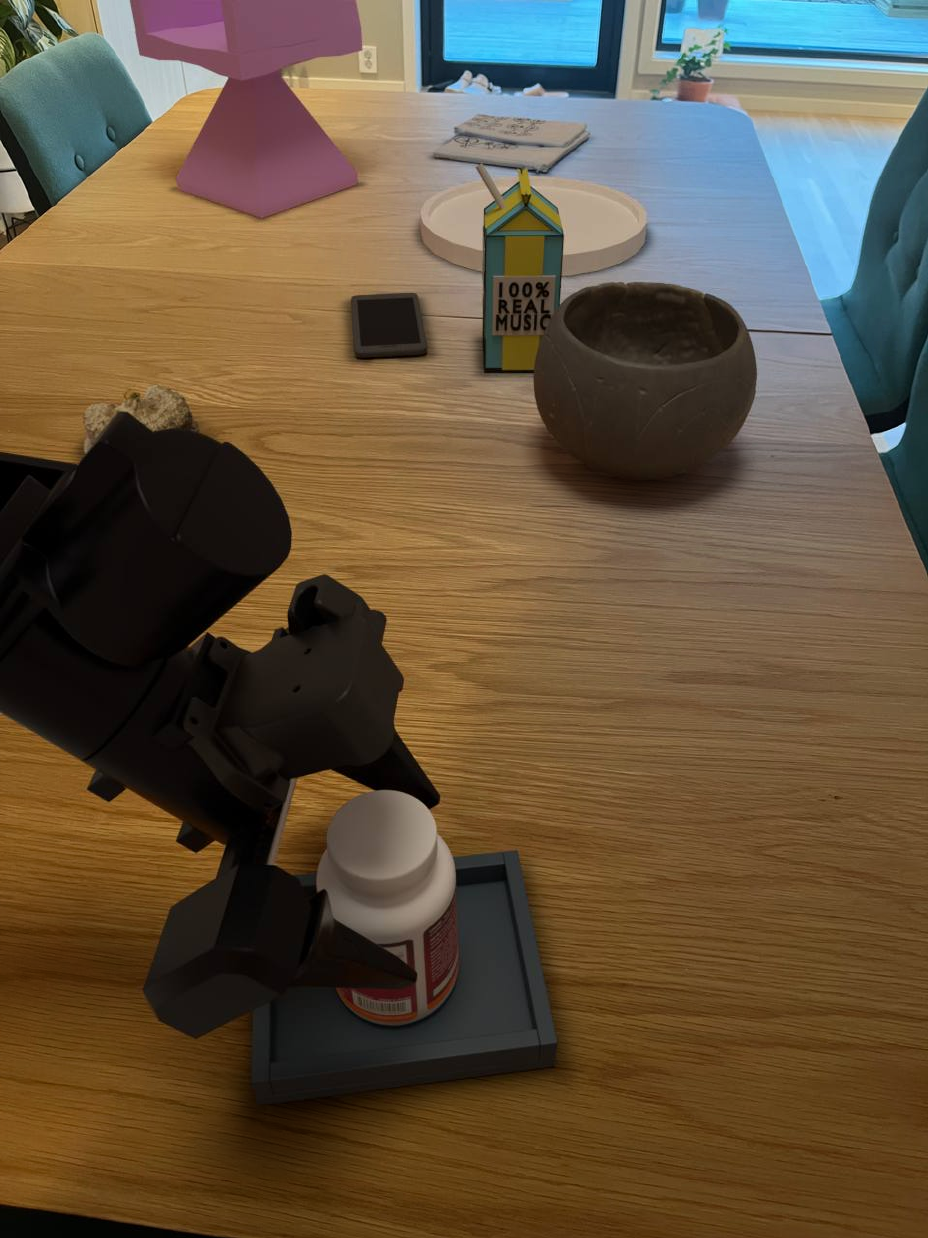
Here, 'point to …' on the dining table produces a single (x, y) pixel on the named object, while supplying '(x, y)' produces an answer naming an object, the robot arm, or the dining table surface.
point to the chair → (255, 95)
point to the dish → (442, 1041)
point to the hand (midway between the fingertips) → (423, 886)
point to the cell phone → (387, 325)
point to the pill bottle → (394, 899)
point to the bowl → (644, 378)
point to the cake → (142, 412)
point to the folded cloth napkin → (513, 141)
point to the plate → (589, 213)
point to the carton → (518, 274)
